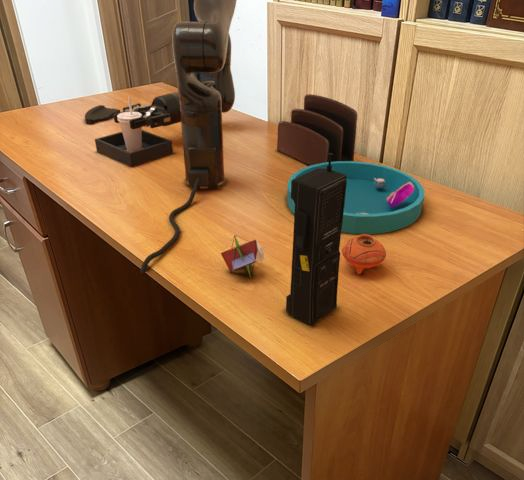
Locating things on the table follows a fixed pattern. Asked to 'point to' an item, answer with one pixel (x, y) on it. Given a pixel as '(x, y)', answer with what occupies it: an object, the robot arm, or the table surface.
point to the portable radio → (316, 243)
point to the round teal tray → (373, 197)
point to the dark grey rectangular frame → (117, 151)
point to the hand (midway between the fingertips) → (122, 121)
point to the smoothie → (130, 135)
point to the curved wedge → (99, 114)
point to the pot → (363, 252)
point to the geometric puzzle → (243, 255)
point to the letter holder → (319, 131)
